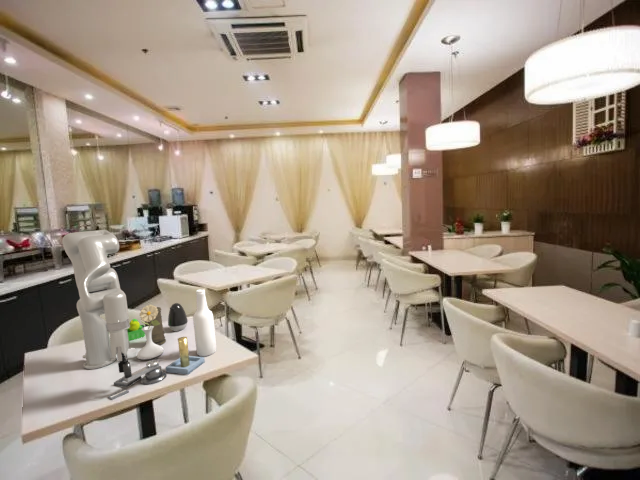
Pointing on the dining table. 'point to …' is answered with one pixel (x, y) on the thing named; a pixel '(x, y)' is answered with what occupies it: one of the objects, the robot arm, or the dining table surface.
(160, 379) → the crank housing
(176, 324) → the black egg shape
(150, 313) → the flower in vase
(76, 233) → the robot arm
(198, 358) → the tray
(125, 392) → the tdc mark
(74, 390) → the dining table surface
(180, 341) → the peg
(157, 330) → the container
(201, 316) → the alcohol
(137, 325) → the fruit basket
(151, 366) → the crank
